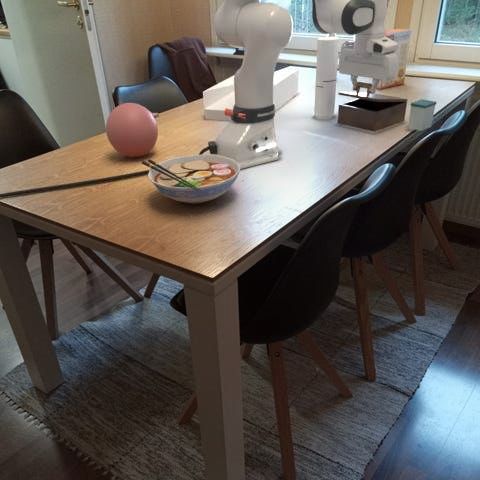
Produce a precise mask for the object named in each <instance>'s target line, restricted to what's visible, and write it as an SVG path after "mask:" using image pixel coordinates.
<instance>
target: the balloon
mask: <svg viewBox="0 0 480 480" xmlns="http://www.w3.org/2000/svg"><path fill="white" fill-rule="evenodd" d="M159 116H160V114H159V113H158V112H152V111H150V110H149V109H148V108H147V107H145V106H143V105H141V104H139V103H135V102H125V103H122V104H119V105H117V106H116V107H114V108H113V109H112V110H111V112H110V113H109V115H108V117H107V119H106V124H105V132H106V136H107V137H106V138H107V140H108V142H109V143H110V146H111V147H112V148H113V149H114V150H115V151H116V152H118V153H119V154H121V155H122V156H125V157H128V158H140V157H143V156H145V155H147V154H149V153H150V152H151V151H152V150H153V149H154V147H155V145H156V143H157V141H158V136H159V128H158V123H157V121H156V118H159Z"/></svg>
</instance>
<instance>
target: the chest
mask: <svg viewBox="0 0 480 480" xmlns="http://www.w3.org/2000/svg"><path fill="white" fill-rule="evenodd" d="M407 105H408V101H407V102H375V101H370V100H365V99H359V98H354V99H352V100H349V101H346V102H342V103H339V104H338V111H337V124H339V125H343V126H348V127H352V128H357V129H360V130H365V131H369V132H374V133H376V132H378V131H382V130H383V129H386V128H389V127H392V126H394V125H397V124H400V123H402V122H404V121H405V120H406V114H407V113H406V112H407Z"/></svg>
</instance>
